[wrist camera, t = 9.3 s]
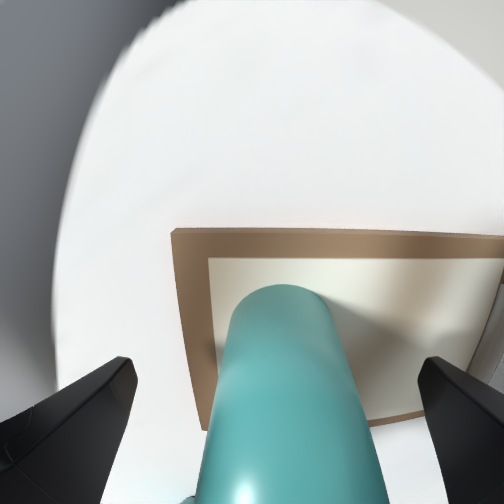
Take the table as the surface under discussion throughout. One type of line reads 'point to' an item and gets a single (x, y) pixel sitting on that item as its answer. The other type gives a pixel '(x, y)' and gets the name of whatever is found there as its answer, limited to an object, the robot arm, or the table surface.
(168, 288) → the table surface
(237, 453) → the teal capped bottle
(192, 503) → the flower pot
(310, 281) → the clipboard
